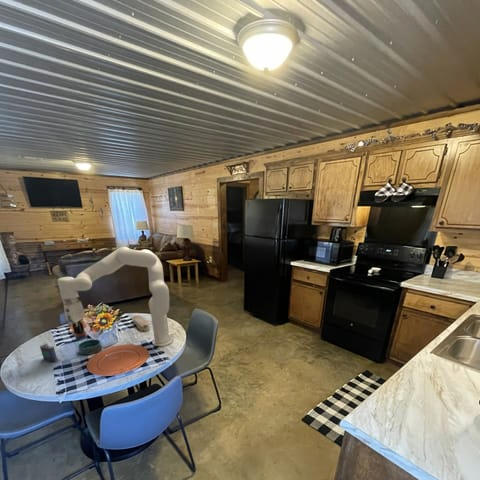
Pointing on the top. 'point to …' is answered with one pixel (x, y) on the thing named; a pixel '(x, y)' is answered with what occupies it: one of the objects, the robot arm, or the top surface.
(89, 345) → the bowl
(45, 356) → the flask
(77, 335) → the brush
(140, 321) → the shoe brush
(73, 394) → the top surface
